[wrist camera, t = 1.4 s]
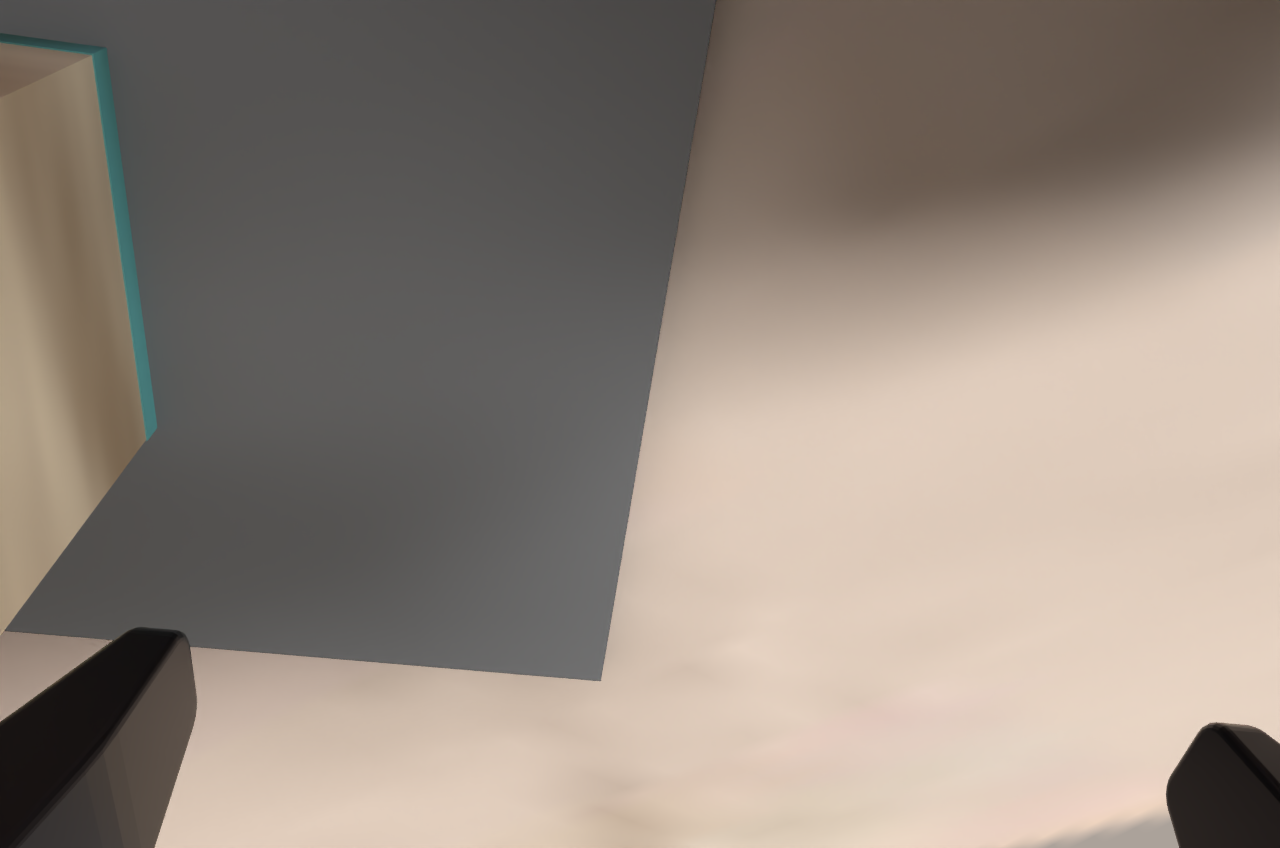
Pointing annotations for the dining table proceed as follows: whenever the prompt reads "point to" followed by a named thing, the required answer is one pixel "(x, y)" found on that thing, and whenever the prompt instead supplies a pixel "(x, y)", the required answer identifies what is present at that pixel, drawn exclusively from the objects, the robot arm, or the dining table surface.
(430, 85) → the rubber mat
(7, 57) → the beech cube
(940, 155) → the dining table surface
